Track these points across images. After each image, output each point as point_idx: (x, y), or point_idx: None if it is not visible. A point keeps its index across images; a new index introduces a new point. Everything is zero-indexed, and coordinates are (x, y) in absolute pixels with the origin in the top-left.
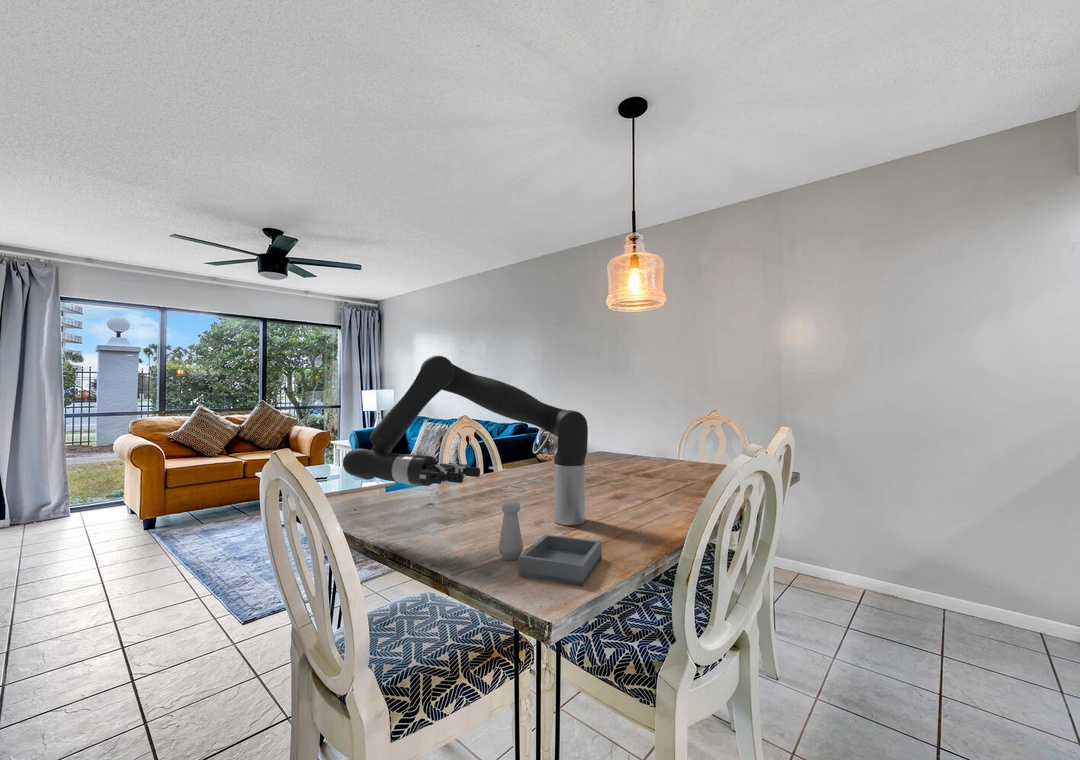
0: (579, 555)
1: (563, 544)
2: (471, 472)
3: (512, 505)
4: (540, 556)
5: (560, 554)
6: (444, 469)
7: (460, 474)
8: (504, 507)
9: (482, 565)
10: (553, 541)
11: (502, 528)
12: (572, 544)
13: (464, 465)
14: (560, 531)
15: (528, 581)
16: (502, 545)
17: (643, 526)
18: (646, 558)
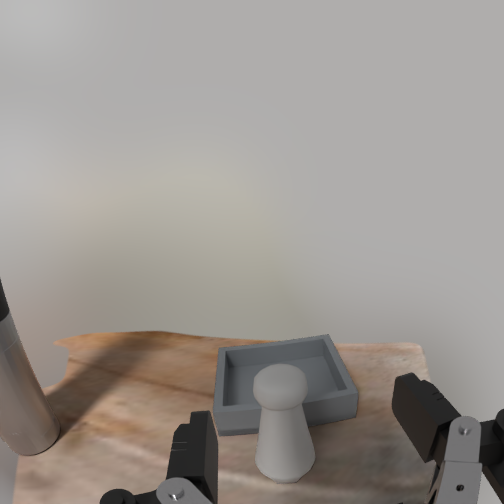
0: (239, 381)
1: (225, 394)
2: (212, 461)
3: (296, 367)
4: None
5: (247, 400)
6: (448, 461)
7: (413, 375)
8: (306, 385)
9: (360, 484)
10: (224, 404)
11: (301, 436)
12: (225, 381)
13: (172, 493)
14: (93, 441)
15: (362, 399)
16: (313, 452)
17: (71, 357)
18: (201, 340)
